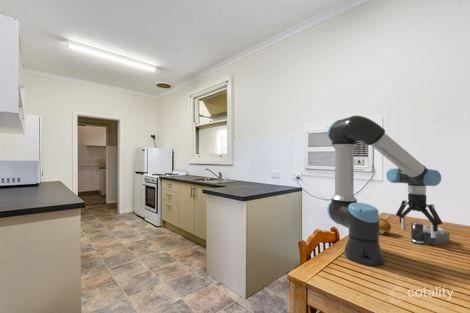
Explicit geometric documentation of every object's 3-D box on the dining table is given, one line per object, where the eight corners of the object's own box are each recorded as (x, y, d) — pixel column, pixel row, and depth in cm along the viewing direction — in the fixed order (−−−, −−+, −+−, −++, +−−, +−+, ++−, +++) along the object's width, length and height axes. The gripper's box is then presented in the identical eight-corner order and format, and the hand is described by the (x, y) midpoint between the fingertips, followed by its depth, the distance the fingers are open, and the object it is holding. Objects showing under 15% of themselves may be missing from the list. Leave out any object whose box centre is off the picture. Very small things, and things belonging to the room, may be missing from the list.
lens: (420, 245, 113) (420, 225, 113) (408, 241, 118) (408, 222, 118) (426, 244, 115) (426, 224, 115) (414, 240, 120) (414, 221, 120)
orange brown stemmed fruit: (383, 229, 138) (386, 215, 136) (393, 239, 128) (396, 224, 126) (366, 229, 139) (369, 214, 137) (375, 238, 129) (378, 223, 127)
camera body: (435, 245, 114) (435, 231, 114) (416, 239, 122) (415, 226, 122) (449, 241, 119) (449, 228, 119) (429, 236, 127) (429, 224, 127)
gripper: (450, 196, 107) (452, 240, 107) (396, 190, 130) (397, 226, 130) (442, 197, 104) (443, 242, 104) (388, 190, 127) (388, 227, 127)
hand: (417, 233), depth 117 cm, fingers open, 13 cm apart
